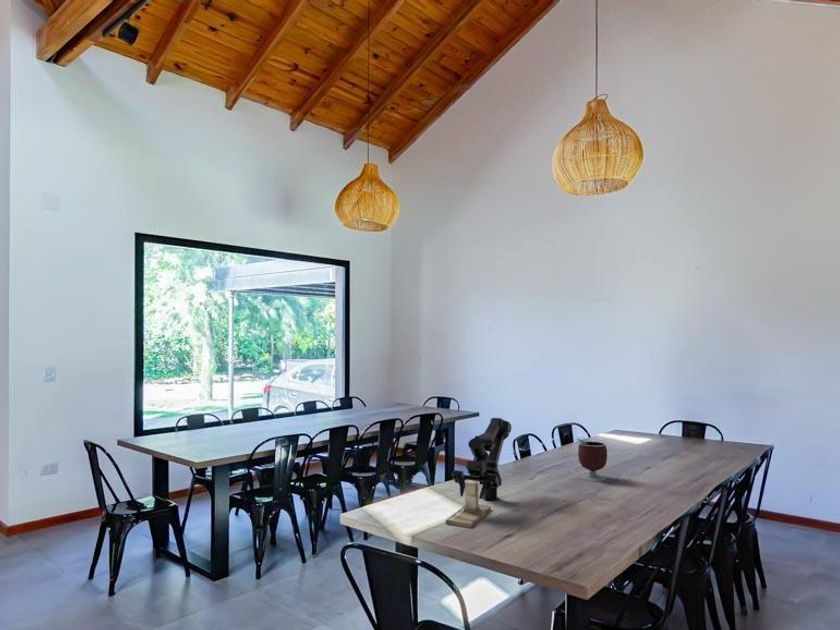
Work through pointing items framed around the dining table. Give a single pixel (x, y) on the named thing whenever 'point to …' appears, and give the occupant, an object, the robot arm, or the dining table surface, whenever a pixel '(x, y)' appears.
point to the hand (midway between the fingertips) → (470, 497)
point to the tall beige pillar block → (471, 497)
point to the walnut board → (467, 516)
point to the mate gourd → (592, 458)
